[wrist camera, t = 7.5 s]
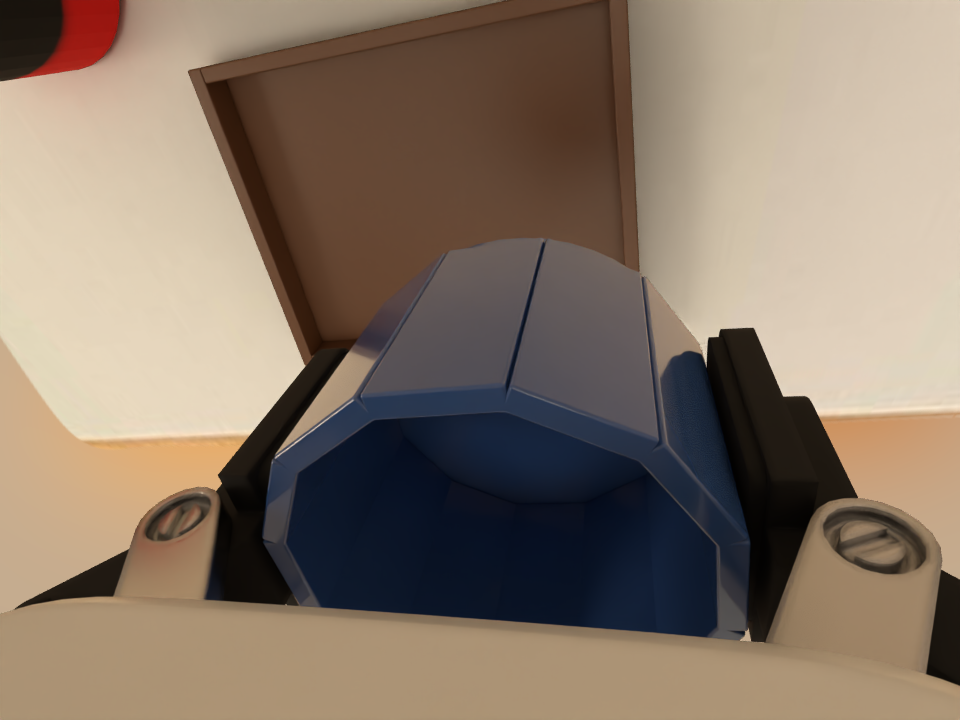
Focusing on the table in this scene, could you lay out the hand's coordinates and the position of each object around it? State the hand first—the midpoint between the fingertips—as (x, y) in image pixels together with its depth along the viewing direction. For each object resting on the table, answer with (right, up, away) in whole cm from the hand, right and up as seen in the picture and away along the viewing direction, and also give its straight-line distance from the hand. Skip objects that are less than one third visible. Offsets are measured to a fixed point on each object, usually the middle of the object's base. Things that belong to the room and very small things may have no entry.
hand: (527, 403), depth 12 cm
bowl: (0, 0, +1) cm, 1 cm away
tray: (-3, +8, +15) cm, 17 cm away
